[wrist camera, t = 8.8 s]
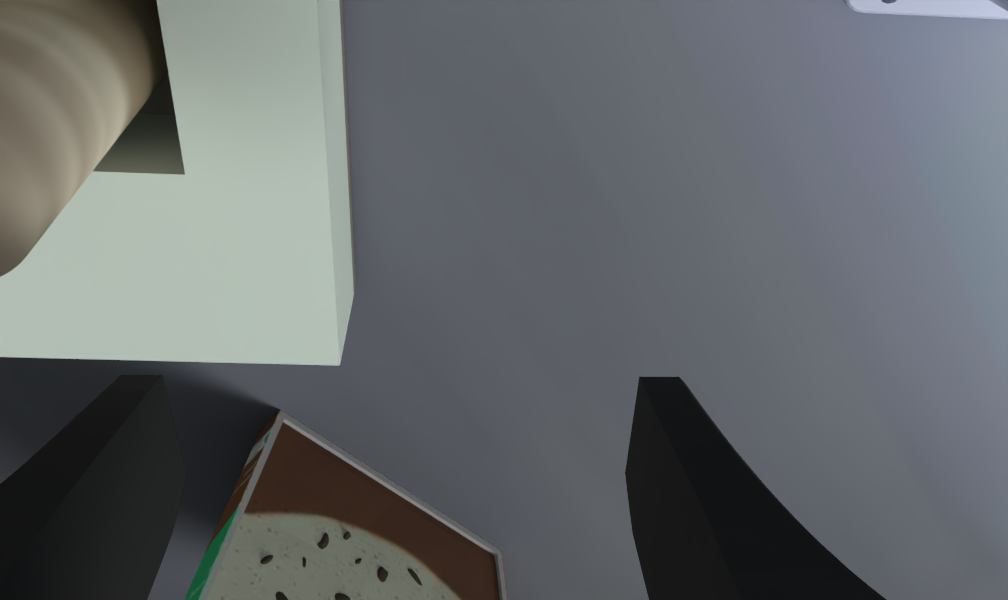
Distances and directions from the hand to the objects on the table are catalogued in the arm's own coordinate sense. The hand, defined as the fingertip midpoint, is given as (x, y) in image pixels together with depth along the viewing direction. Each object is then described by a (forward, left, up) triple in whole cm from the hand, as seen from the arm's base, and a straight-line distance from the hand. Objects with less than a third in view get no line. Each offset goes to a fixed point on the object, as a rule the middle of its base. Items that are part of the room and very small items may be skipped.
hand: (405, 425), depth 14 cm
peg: (+7, -3, -9) cm, 12 cm away
